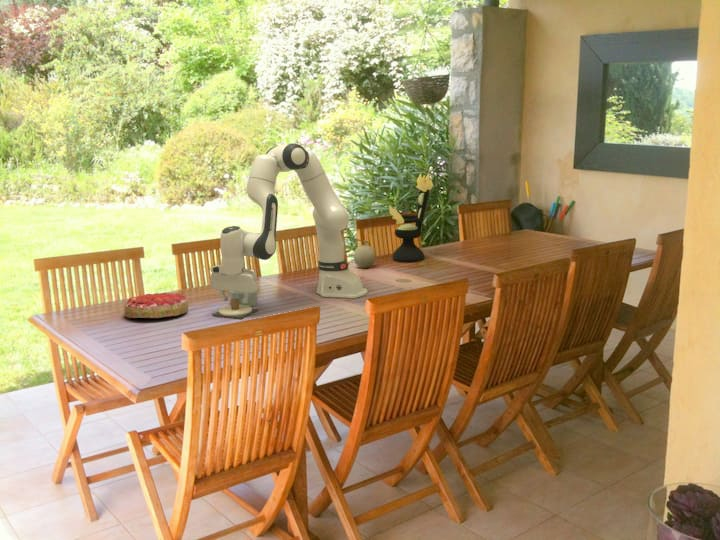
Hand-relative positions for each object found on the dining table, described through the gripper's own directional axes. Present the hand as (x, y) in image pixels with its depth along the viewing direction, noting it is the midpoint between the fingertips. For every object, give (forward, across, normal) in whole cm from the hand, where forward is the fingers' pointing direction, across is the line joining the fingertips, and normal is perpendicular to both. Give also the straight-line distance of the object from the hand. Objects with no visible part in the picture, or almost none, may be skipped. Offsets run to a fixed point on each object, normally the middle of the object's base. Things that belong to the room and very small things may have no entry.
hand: (235, 301), depth 309 cm
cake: (+5, +30, +12) cm, 33 cm away
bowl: (+5, +5, -14) cm, 16 cm away
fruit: (+5, -14, -96) cm, 97 cm away
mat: (+5, 0, 0) cm, 5 cm away
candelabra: (+5, -29, -123) cm, 126 cm away
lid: (+4, 0, 0) cm, 4 cm away
